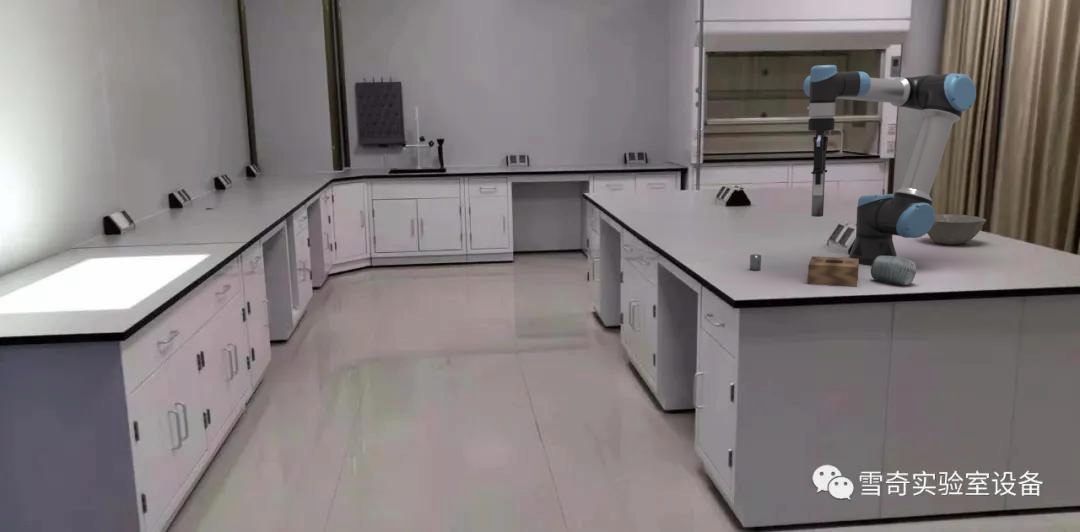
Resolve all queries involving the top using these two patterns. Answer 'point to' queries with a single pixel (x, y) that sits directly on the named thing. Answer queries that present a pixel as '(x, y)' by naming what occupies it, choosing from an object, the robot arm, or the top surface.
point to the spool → (893, 270)
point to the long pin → (818, 201)
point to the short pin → (755, 262)
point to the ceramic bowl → (955, 228)
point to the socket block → (833, 271)
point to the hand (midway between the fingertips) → (818, 194)
